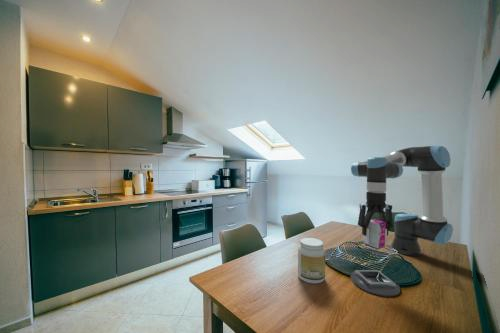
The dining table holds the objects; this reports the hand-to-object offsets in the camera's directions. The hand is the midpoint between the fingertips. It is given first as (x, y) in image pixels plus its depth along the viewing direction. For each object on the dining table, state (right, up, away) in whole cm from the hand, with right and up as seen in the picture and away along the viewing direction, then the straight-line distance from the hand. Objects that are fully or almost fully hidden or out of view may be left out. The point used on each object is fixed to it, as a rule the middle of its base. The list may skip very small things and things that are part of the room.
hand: (374, 242), depth 93 cm
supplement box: (0, -2, 0) cm, 2 cm away
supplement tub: (-27, -18, +4) cm, 33 cm away
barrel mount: (0, -18, 0) cm, 18 cm away
